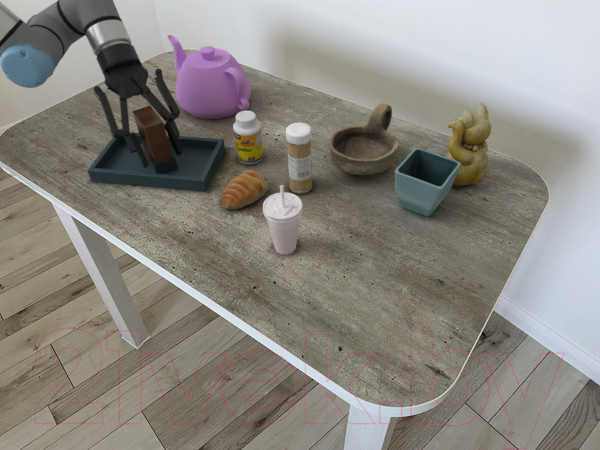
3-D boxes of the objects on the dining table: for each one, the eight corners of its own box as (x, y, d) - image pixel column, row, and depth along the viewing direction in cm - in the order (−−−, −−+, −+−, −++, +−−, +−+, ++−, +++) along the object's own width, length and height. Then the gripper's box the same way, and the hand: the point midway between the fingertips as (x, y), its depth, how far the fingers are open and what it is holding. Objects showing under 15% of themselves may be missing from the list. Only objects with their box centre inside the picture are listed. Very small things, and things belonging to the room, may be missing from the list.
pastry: (239, 218, 88) (237, 202, 86) (212, 204, 91) (209, 188, 89) (271, 190, 94) (270, 175, 91) (245, 178, 97) (242, 163, 94)
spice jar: (311, 179, 96) (311, 120, 86) (312, 194, 93) (312, 135, 83) (288, 180, 96) (285, 121, 86) (288, 195, 93) (285, 136, 83)
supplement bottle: (232, 161, 101) (225, 118, 94) (246, 147, 104) (241, 105, 97) (254, 168, 99) (249, 126, 91) (268, 154, 102) (265, 112, 95)
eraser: (143, 156, 101) (129, 110, 94) (163, 149, 103) (151, 103, 95) (157, 176, 96) (143, 129, 89) (178, 168, 98) (166, 122, 90)
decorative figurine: (458, 159, 99) (475, 93, 89) (493, 177, 95) (515, 110, 84) (429, 179, 95) (443, 112, 84) (464, 199, 90) (484, 131, 80)
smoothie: (268, 262, 80) (262, 199, 71) (264, 235, 85) (258, 173, 75) (306, 257, 81) (305, 194, 71) (300, 231, 86) (298, 168, 76)
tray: (91, 181, 97) (87, 170, 95) (121, 141, 107) (117, 130, 105) (206, 192, 94) (203, 181, 92) (225, 150, 104) (223, 139, 102)
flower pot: (409, 184, 94) (415, 145, 88) (452, 200, 90) (462, 161, 84) (388, 209, 89) (393, 171, 83) (433, 228, 85) (442, 189, 79)
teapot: (274, 102, 117) (270, 47, 108) (222, 135, 108) (213, 78, 98) (203, 73, 129) (194, 21, 119) (151, 101, 119) (136, 47, 110)
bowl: (314, 172, 97) (314, 130, 90) (357, 131, 108) (360, 90, 101) (374, 196, 92) (379, 153, 85) (414, 151, 102) (421, 109, 95)
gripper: (159, 46, 101) (204, 148, 103) (65, 71, 94) (115, 180, 95) (163, 29, 94) (211, 139, 96) (61, 55, 87) (115, 173, 89)
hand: (163, 159), depth 96 cm, fingers open, 6 cm apart
